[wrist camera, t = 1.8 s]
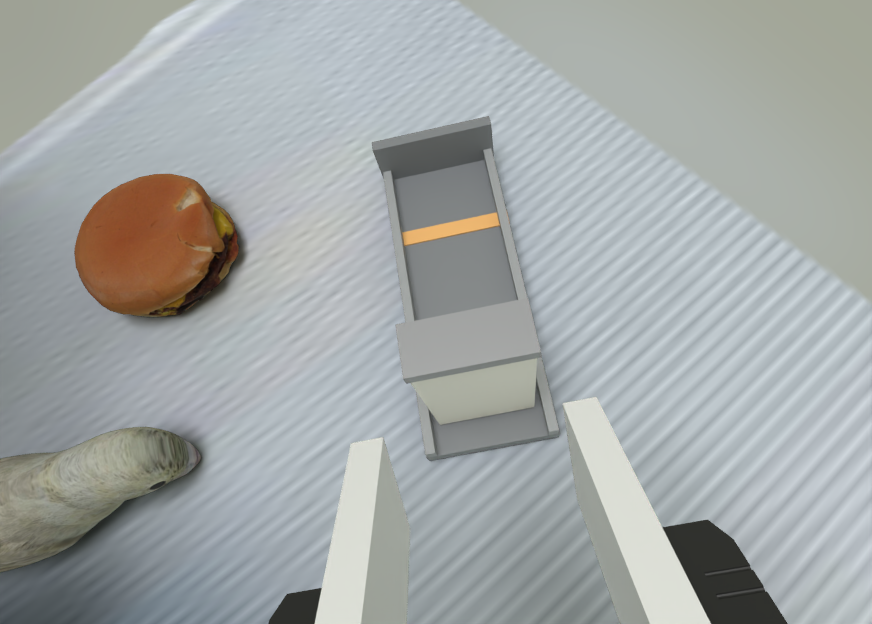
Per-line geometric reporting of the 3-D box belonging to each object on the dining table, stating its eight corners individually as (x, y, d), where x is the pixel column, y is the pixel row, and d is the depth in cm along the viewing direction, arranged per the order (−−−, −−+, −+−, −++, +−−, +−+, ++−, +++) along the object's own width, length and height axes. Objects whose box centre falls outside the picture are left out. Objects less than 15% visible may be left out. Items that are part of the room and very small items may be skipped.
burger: (78, 274, 40) (25, 241, 36) (177, 176, 42) (138, 134, 38) (171, 358, 37) (125, 333, 32) (273, 248, 39) (243, 210, 34)
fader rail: (558, 437, 32) (563, 420, 28) (430, 461, 32) (416, 448, 28) (492, 161, 38) (489, 116, 34) (387, 184, 39) (371, 142, 35)
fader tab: (536, 408, 31) (541, 351, 22) (438, 427, 31) (403, 378, 22) (527, 368, 32) (527, 297, 23) (431, 386, 32) (395, 324, 23)
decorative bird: (215, 501, 33) (134, 489, 26) (-54, 613, 33) (-206, 631, 26) (196, 412, 35) (116, 379, 28) (-57, 517, 35) (-199, 510, 28)
